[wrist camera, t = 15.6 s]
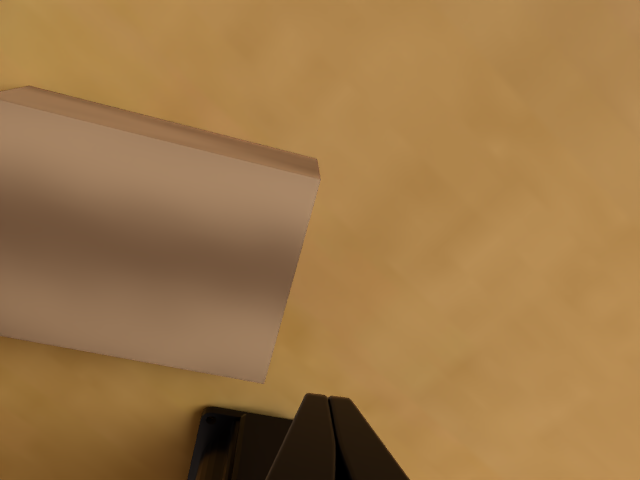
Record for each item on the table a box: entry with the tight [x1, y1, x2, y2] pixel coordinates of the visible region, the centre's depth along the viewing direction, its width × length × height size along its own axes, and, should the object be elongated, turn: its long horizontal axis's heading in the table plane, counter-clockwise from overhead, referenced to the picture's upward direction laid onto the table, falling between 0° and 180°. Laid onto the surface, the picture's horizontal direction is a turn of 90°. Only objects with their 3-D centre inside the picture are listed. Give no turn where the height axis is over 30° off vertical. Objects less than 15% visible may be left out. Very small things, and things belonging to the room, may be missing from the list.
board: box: [0, 86, 321, 384], centre depth 19 cm, size 9×11×3 cm
